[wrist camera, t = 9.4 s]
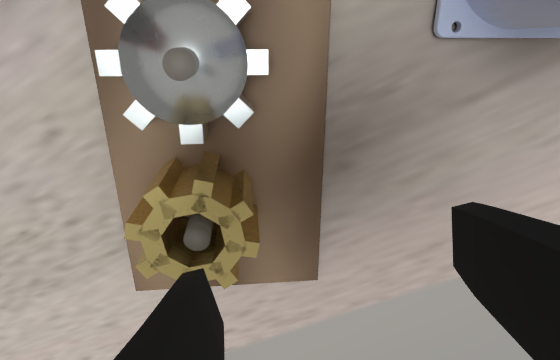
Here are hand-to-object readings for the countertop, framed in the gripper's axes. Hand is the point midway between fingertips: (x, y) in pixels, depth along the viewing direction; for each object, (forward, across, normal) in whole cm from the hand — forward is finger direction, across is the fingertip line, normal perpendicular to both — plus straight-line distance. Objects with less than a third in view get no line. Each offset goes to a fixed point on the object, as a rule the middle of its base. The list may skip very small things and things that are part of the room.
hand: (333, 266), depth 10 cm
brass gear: (+10, +5, +1) cm, 11 cm away
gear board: (+10, +4, -1) cm, 11 cm away
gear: (+9, +4, -6) cm, 12 cm away
